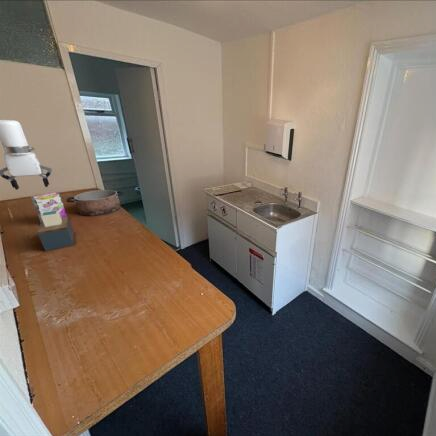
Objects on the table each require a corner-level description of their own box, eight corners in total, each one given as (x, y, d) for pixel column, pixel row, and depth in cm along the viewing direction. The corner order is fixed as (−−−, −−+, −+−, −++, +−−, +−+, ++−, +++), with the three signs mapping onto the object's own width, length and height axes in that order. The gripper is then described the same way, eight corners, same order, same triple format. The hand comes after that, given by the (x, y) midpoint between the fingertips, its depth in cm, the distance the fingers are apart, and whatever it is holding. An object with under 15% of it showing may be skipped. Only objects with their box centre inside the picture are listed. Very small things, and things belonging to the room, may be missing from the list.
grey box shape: (45, 251, 110) (37, 232, 106) (48, 237, 121) (41, 220, 117) (73, 245, 116) (66, 227, 112) (74, 233, 127) (68, 216, 123)
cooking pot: (71, 220, 141) (65, 203, 137) (71, 209, 156) (66, 194, 152) (129, 210, 159) (125, 195, 154) (125, 201, 174) (121, 187, 170)
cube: (45, 227, 111) (40, 216, 108) (46, 223, 114) (42, 212, 112) (61, 224, 114) (57, 213, 112) (62, 220, 118) (58, 210, 116)
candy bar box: (45, 225, 133) (33, 198, 127) (41, 223, 135) (29, 196, 129) (69, 218, 143) (59, 193, 136) (65, 217, 144) (55, 192, 138)
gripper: (46, 148, 110) (58, 183, 117) (-10, 149, 100) (6, 187, 107) (44, 150, 105) (56, 187, 112) (-16, 152, 95) (2, 192, 101)
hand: (32, 187), depth 109 cm, fingers open, 9 cm apart
